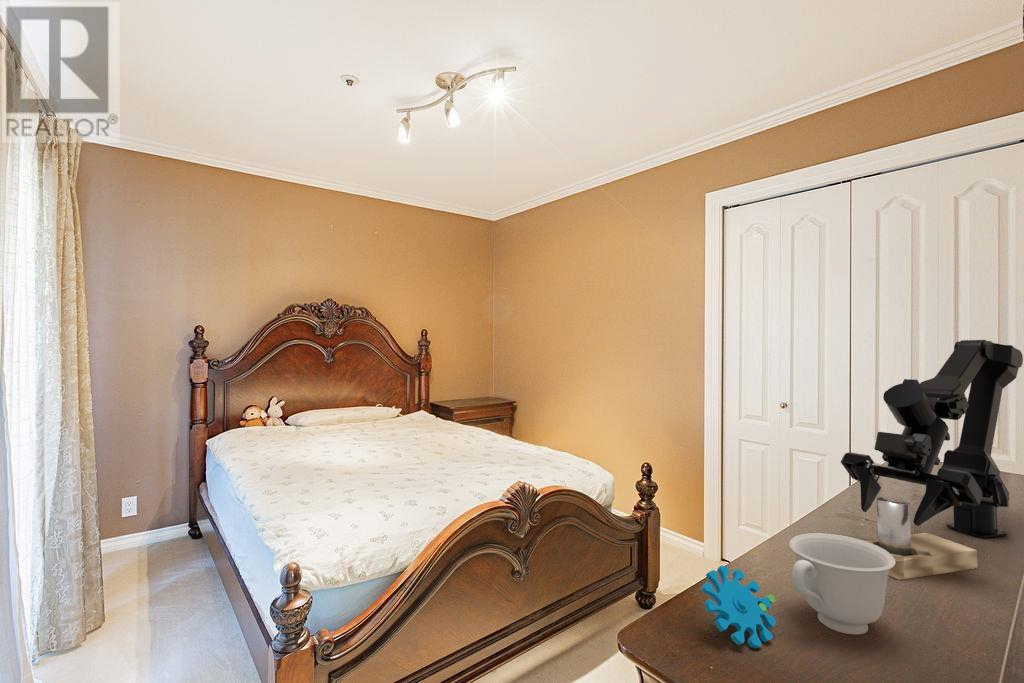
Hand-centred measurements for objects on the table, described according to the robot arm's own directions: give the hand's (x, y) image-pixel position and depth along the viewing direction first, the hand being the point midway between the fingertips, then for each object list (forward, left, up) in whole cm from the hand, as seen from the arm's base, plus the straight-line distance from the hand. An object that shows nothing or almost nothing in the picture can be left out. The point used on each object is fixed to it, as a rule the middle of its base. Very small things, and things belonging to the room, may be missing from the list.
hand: (888, 517), depth 81 cm
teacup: (+23, +12, -9) cm, 27 cm away
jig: (-5, 0, -9) cm, 10 cm away
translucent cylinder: (-2, 0, -9) cm, 9 cm away
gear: (+36, +10, -9) cm, 38 cm away
